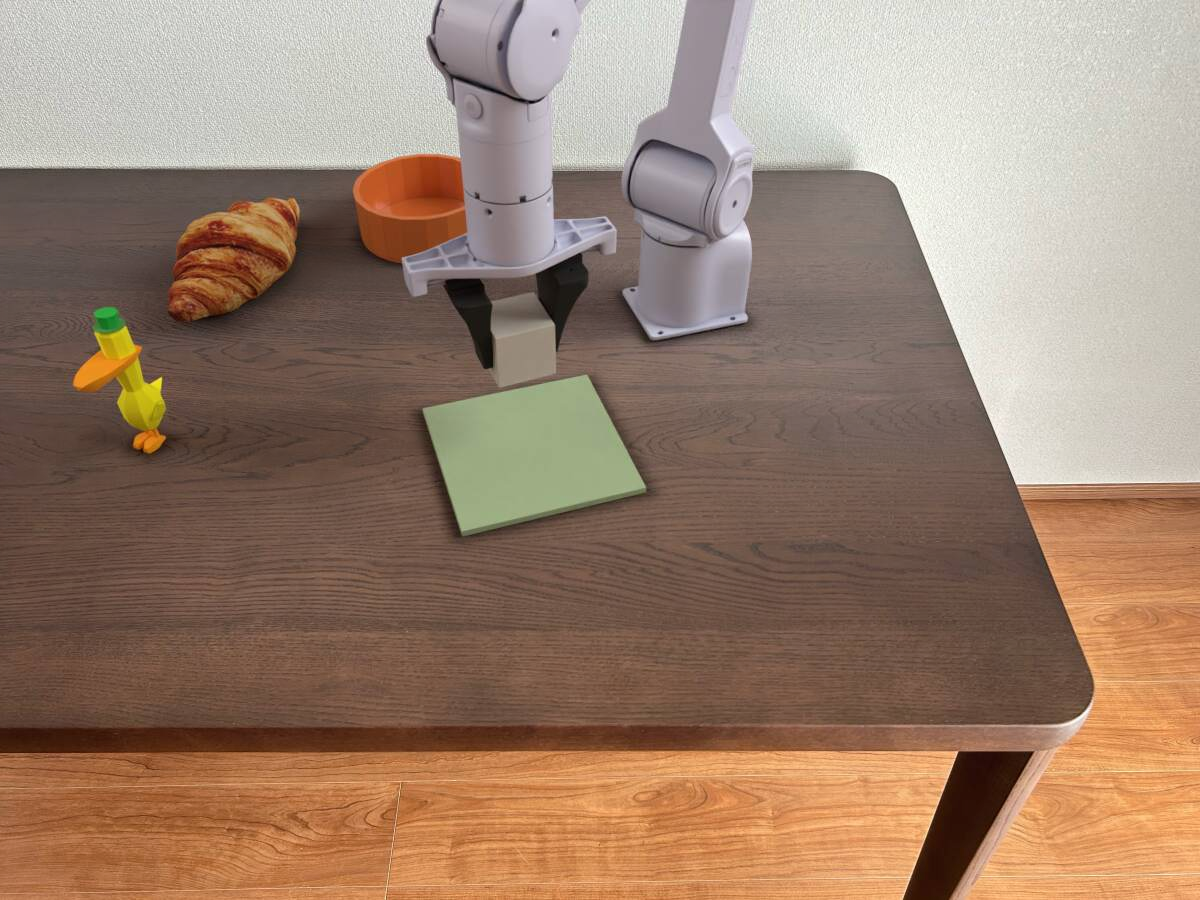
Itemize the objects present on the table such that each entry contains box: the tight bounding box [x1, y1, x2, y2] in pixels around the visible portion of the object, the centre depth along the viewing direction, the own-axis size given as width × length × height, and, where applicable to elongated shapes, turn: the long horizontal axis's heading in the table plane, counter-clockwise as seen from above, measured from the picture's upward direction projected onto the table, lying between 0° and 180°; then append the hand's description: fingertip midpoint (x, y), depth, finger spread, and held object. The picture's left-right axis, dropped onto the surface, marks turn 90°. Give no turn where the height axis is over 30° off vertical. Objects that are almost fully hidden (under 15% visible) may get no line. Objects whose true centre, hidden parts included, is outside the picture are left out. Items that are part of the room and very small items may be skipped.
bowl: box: [352, 153, 467, 264], centre depth 97 cm, size 13×13×5 cm
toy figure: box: [72, 306, 167, 455], centre depth 71 cm, size 7×4×12 cm, turn 157°
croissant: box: [166, 197, 301, 323], centre depth 91 cm, size 21×10×8 cm, turn 166°
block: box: [488, 291, 557, 389], centre depth 70 cm, size 4×4×4 cm
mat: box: [422, 374, 647, 538], centre depth 75 cm, size 14×14×1 cm
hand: (517, 352), depth 71 cm, fingers closed on block, 4 cm apart
